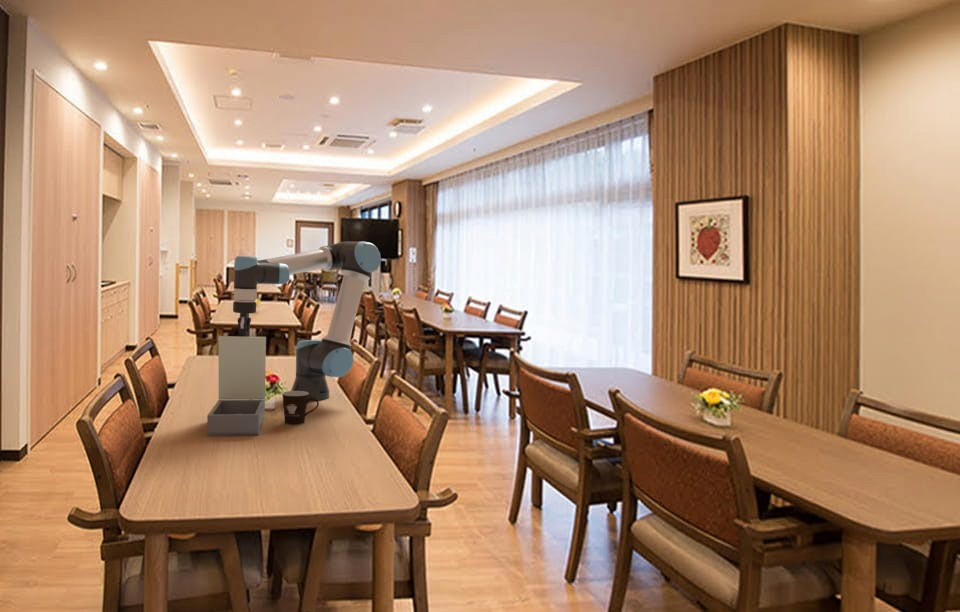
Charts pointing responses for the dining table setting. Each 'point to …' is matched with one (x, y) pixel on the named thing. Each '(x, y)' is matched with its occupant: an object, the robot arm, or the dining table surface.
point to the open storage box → (236, 418)
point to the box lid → (242, 368)
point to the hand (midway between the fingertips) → (243, 369)
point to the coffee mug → (296, 406)
